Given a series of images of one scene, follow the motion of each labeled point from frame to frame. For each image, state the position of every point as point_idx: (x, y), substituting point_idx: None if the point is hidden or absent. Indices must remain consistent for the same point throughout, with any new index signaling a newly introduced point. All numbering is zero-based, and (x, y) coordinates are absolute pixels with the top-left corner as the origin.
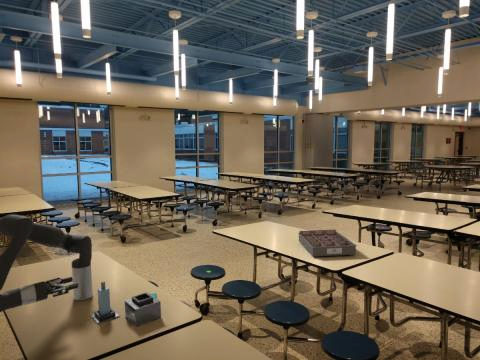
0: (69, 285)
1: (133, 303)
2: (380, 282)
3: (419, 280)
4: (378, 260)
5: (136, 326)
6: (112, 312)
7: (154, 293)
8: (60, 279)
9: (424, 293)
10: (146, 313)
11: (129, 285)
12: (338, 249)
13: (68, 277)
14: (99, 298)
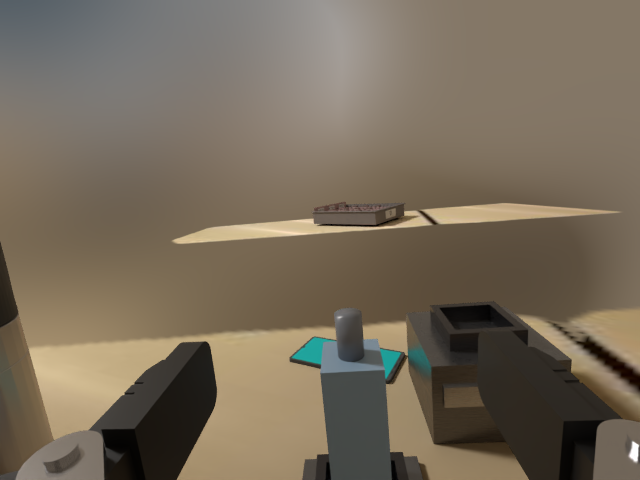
0: (591, 416)
1: None
2: (495, 219)
3: (506, 212)
4: (431, 214)
5: None
6: (402, 464)
7: (311, 338)
8: (70, 476)
9: (544, 214)
10: None
11: None
12: (393, 210)
13: (168, 364)
14: (357, 430)
